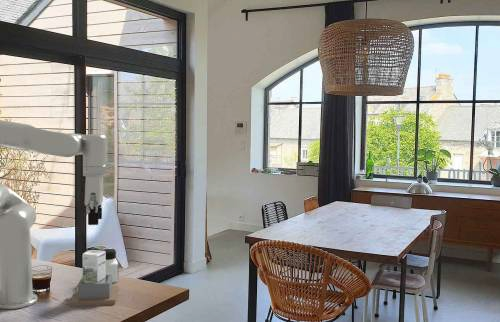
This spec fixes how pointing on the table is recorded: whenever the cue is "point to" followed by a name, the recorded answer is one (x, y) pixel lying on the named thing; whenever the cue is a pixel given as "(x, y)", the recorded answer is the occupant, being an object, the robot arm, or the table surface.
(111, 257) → the medicine bottle
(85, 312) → the table surface
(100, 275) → the syrup box
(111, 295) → the socket
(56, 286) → the table surface
